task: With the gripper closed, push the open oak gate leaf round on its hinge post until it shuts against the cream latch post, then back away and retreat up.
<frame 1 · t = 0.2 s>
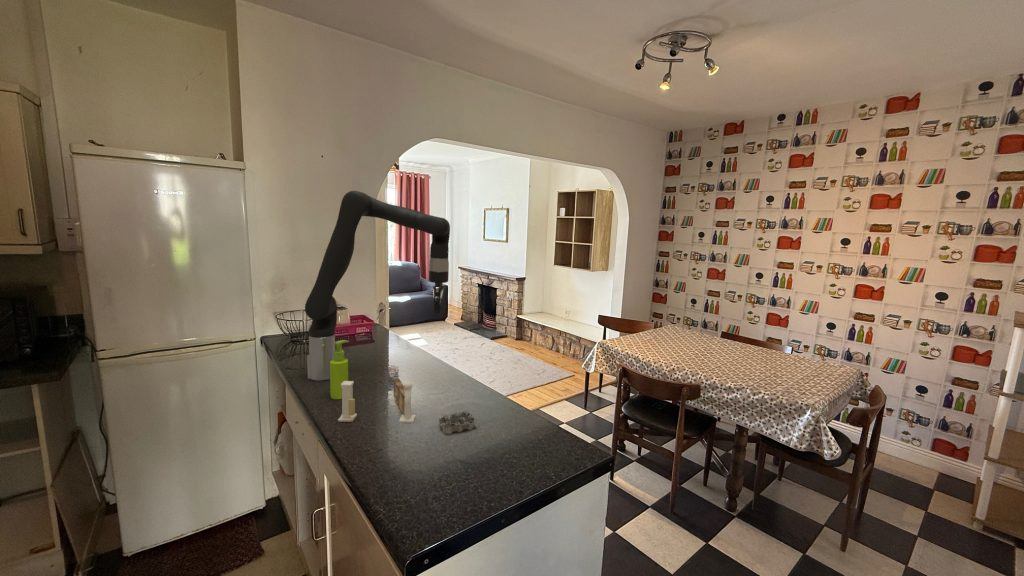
hand: (437, 310, 158), 29 cm above the kitchen counter, fingers open, 8 cm apart
latch post: (347, 418, 128), on the kitchen counter
egg carton: (456, 428, 126), on the kitchen counter
hinge post: (407, 419, 129), on the kitchen counter
gate: (400, 395, 136), point 4 cm above the kitchen counter, hinge at 65.0°
soap dispenser: (340, 395, 144), on the kitchen counter
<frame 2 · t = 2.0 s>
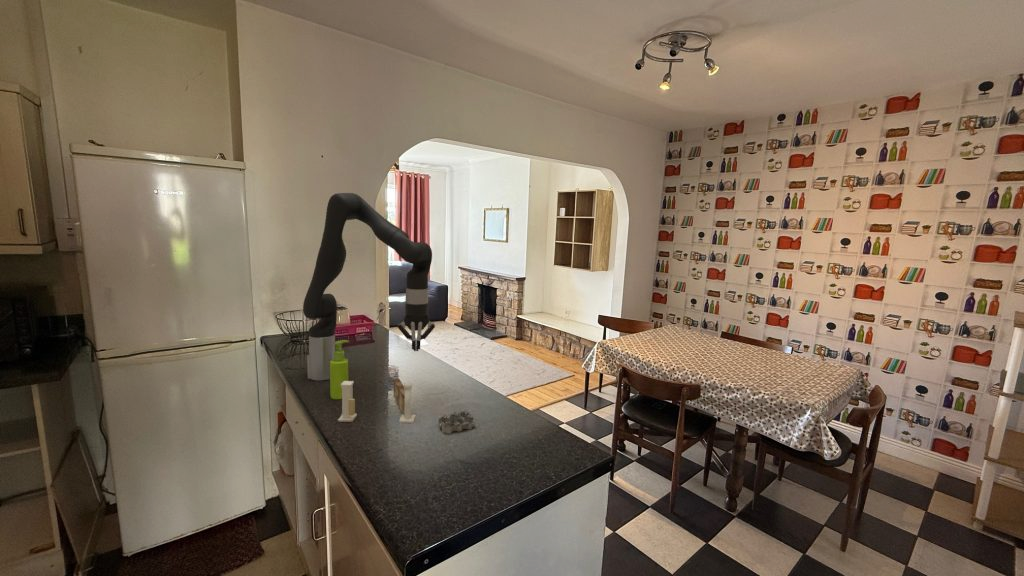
hand: (416, 350, 139), 19 cm above the kitchen counter, fingers closed
nothing on the kitchen counter moved.
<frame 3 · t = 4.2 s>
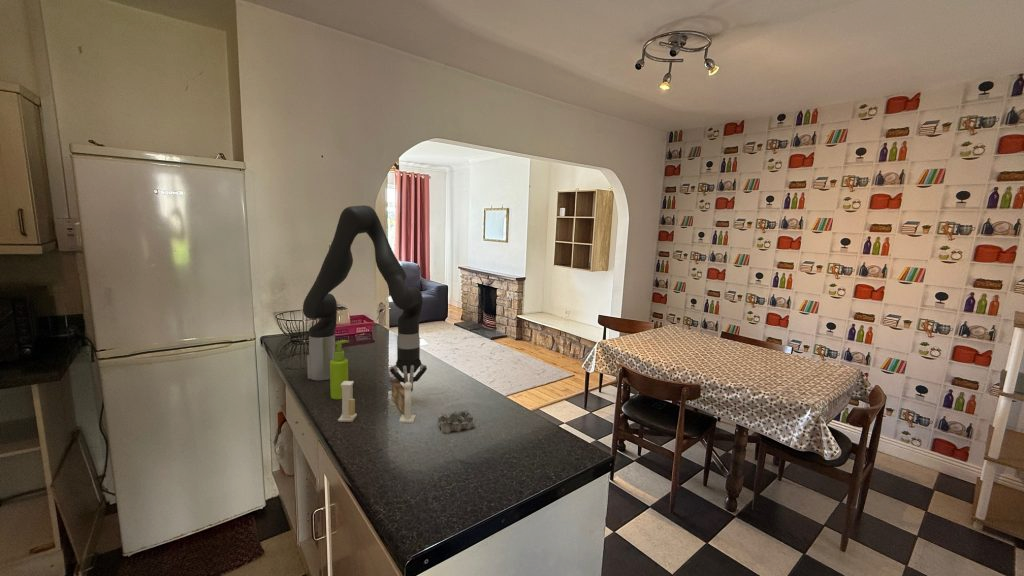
hand: (408, 392, 141), 3 cm above the kitchen counter, fingers closed
gate: (399, 395, 136), point 4 cm above the kitchen counter, hinge at 62.7°, touching gripper
everything else where it was.
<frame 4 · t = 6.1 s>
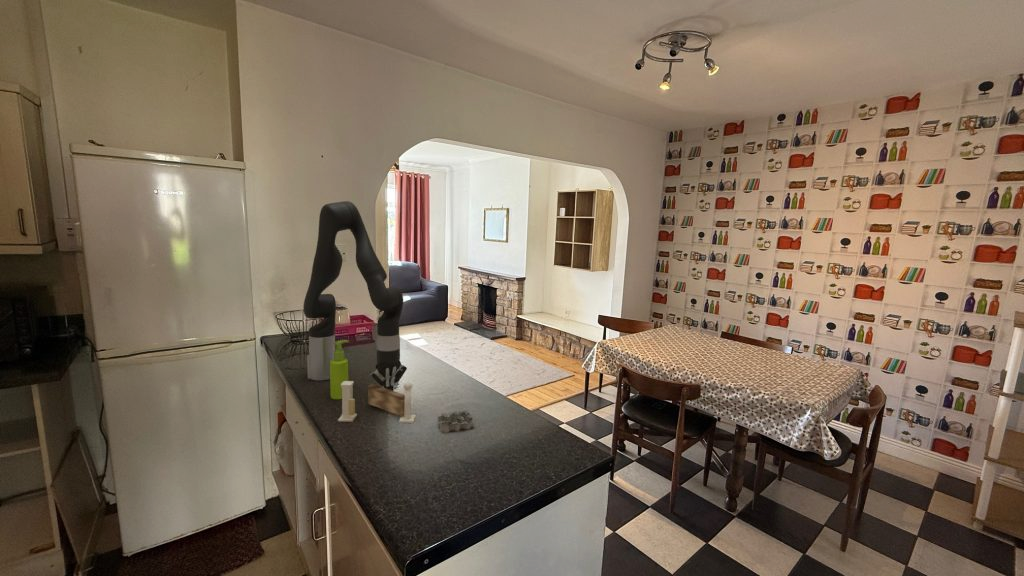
hand: (388, 395, 138), 4 cm above the kitchen counter, fingers closed
gate: (386, 399, 133), point 4 cm above the kitchen counter, hinge at 32.4°, touching gripper
everything else where it was.
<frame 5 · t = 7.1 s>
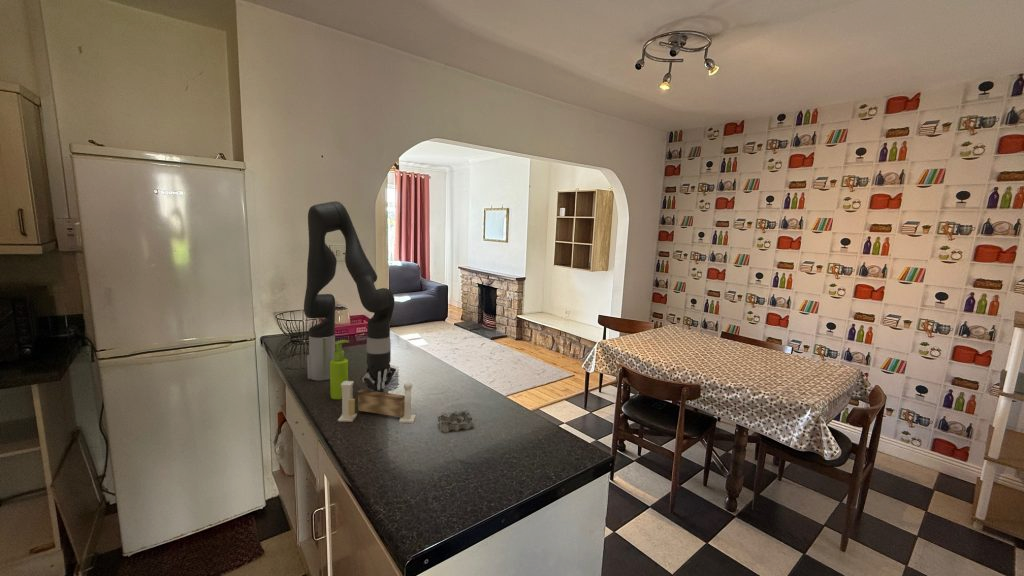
hand: (378, 398, 134), 4 cm above the kitchen counter, fingers closed
gate: (381, 403, 130), point 4 cm above the kitchen counter, hinge at 14.7°, touching gripper
everything else where it was.
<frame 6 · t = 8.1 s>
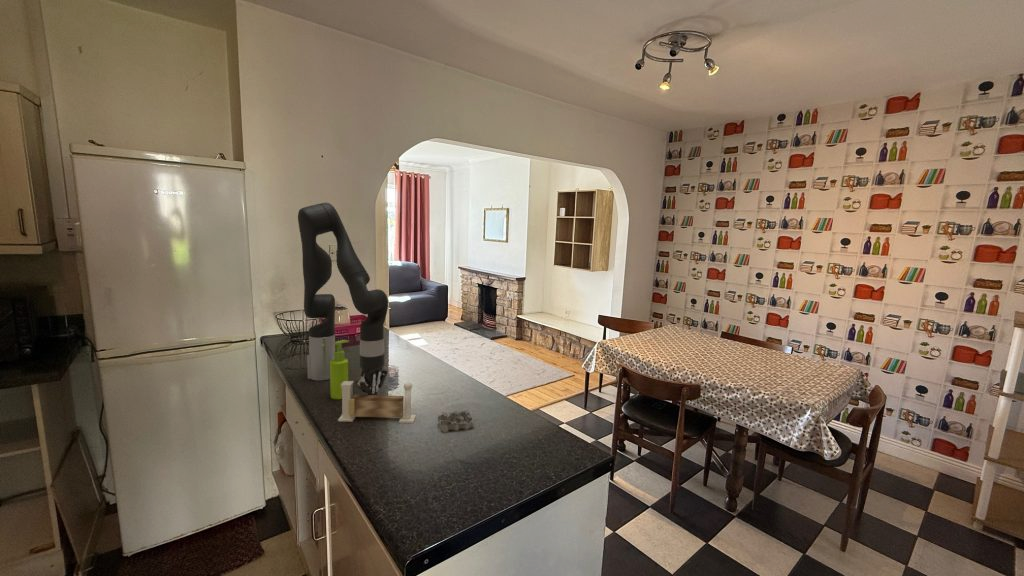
hand: (372, 402, 132), 4 cm above the kitchen counter, fingers closed
gate: (378, 406, 128), point 4 cm above the kitchen counter, hinge at 0.3°, touching gripper, latch post
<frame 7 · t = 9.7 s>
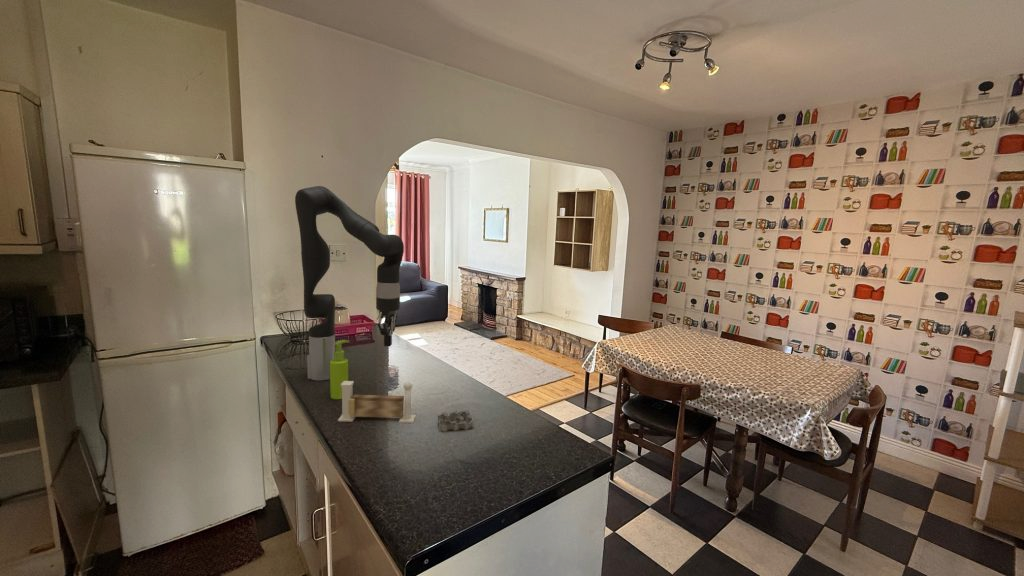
hand: (387, 345, 136), 21 cm above the kitchen counter, fingers closed
gate: (378, 406, 128), point 4 cm above the kitchen counter, hinge at 0.4°, touching latch post
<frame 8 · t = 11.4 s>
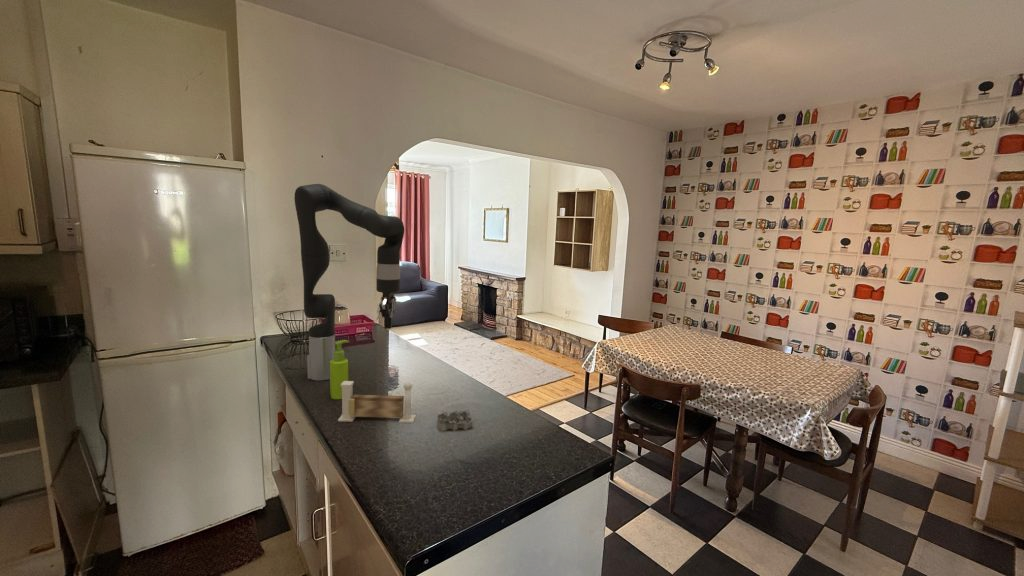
hand: (388, 328, 135), 27 cm above the kitchen counter, fingers closed
at the end: gate at +0° (first picture: +65°) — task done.
